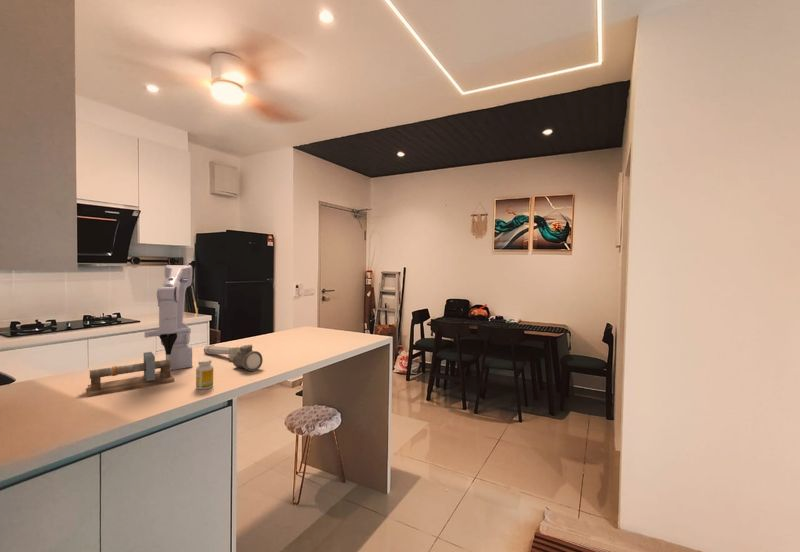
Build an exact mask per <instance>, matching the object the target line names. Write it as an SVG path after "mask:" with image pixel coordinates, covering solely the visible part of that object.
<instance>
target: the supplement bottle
mask: <svg viewBox="0 0 800 552" xmlns="http://www.w3.org/2000/svg"><path fill="white" fill-rule="evenodd" d="M213 386H214V366H213V365H212V359H211V358H204V359H199V360H198V366H197V367H196V369H195V388H196V389H197V390H206V389H211V388H213Z"/></svg>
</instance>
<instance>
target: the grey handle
mask: <svg viewBox="0 0 800 552" xmlns="http://www.w3.org/2000/svg"><path fill="white" fill-rule="evenodd" d="M239 347H240V346H234V347H229V346H219V345H214V344H213V345H212V344H211V345H207V346H205V347H204V348H203V353H204V354H207V355H211V356H212V355H228V358H229V361H230V362H233V358H234V356H235V355H236V354H237V352H238V351H240V349H239Z"/></svg>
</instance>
